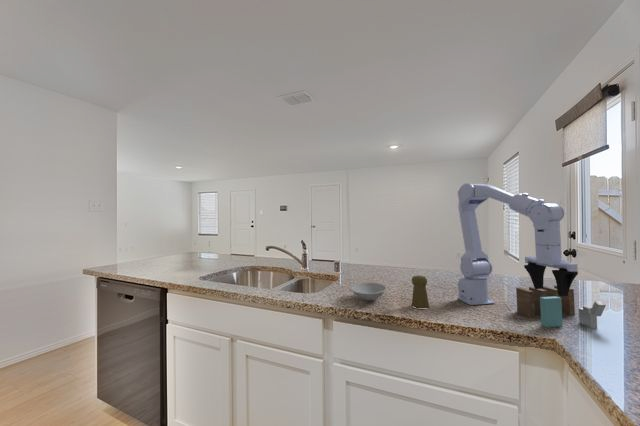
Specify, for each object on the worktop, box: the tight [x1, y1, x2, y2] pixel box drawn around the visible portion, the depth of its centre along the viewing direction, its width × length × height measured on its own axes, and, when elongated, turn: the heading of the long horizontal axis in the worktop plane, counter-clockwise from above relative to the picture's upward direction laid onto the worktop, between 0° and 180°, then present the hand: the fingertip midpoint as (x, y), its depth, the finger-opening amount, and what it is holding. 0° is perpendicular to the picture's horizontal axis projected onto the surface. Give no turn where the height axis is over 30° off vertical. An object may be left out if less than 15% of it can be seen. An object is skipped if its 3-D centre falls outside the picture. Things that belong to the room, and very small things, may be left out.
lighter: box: [578, 300, 607, 329], centre depth 76 cm, size 7×2×8 cm, turn 172°
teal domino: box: [540, 296, 563, 328], centre depth 78 cm, size 2×5×8 cm, turn 94°
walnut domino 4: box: [553, 284, 576, 316], centre depth 88 cm, size 2×5×8 cm, turn 4°
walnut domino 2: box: [528, 286, 547, 316], centre depth 87 cm, size 2×5×8 cm, turn 4°
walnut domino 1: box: [515, 287, 536, 318], centre depth 87 cm, size 2×5×8 cm, turn 4°
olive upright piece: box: [411, 275, 430, 309], centre depth 98 cm, size 6×6×11 cm
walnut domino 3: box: [543, 285, 561, 298], centre depth 88 cm, size 2×5×8 cm, turn 4°
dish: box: [350, 281, 388, 301], centre depth 108 cm, size 18×14×5 cm
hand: (550, 292), depth 78 cm, fingers open, 7 cm apart
